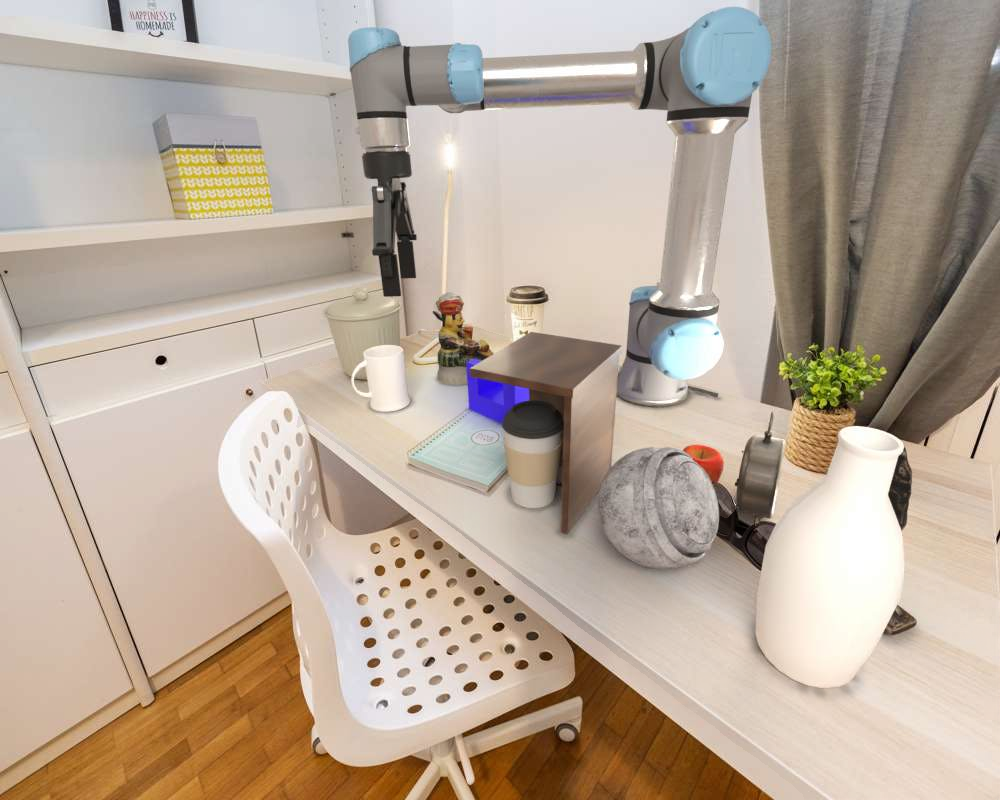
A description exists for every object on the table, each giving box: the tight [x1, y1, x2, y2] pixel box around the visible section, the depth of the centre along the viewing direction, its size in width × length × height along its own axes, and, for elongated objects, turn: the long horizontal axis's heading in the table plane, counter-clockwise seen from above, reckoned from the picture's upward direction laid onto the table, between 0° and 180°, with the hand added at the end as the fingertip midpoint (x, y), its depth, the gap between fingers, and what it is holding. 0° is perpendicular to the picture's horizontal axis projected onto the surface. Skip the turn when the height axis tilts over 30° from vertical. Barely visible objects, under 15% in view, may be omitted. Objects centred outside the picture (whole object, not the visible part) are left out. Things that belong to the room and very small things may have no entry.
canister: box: [322, 287, 403, 381], centre depth 123 cm, size 18×18×21 cm
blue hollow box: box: [466, 359, 529, 425], centre depth 107 cm, size 21×14×10 cm, turn 134°
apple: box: [682, 444, 725, 484], centre depth 77 cm, size 6×6×8 cm
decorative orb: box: [597, 446, 720, 570], centre depth 64 cm, size 15×14×15 cm
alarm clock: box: [734, 411, 786, 525], centre depth 71 cm, size 11×5×16 cm, turn 148°
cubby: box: [469, 331, 623, 535], centre depth 76 cm, size 15×18×22 cm
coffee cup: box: [501, 400, 564, 509], centre depth 76 cm, size 9×9×15 cm
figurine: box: [432, 292, 494, 386], centre depth 119 cm, size 12×15×20 cm
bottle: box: [754, 425, 906, 689], centre depth 48 cm, size 11×11×25 cm
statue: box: [884, 446, 918, 636], centre depth 53 cm, size 4×7×20 cm, turn 22°
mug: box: [350, 345, 411, 413], centre depth 108 cm, size 12×8×12 cm
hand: (401, 286), depth 89 cm, fingers open, 13 cm apart
